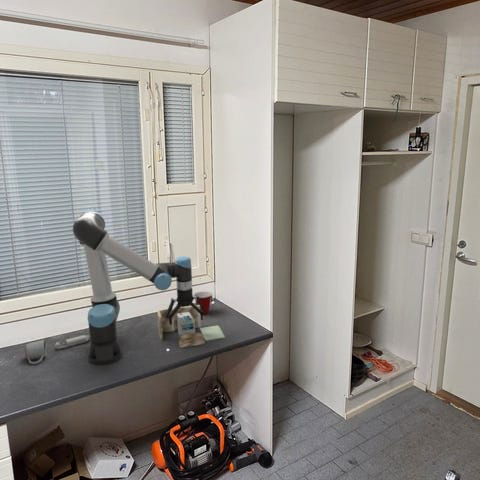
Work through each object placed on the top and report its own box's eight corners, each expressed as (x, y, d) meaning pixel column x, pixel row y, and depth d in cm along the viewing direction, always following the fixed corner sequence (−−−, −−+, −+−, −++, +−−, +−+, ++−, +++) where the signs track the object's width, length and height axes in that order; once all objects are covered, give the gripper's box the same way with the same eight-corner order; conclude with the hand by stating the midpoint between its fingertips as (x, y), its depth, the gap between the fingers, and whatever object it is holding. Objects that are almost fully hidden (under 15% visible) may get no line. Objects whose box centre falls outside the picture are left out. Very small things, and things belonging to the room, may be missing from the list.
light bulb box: (195, 339, 207) (195, 319, 205) (182, 342, 205) (181, 321, 202) (190, 330, 217) (189, 311, 214) (177, 332, 215) (176, 313, 212)
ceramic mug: (27, 355, 193) (24, 340, 191) (46, 351, 196) (44, 337, 194) (26, 367, 184) (23, 351, 182) (46, 363, 187) (44, 347, 185)
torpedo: (56, 352, 196) (55, 339, 195) (54, 348, 200) (53, 335, 199) (95, 341, 206) (94, 329, 205) (92, 337, 210) (91, 325, 209)
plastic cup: (208, 308, 245) (208, 288, 242) (215, 315, 236) (215, 295, 233) (191, 311, 241) (190, 291, 238) (197, 318, 231) (196, 298, 228)
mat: (205, 340, 206) (205, 339, 206) (199, 328, 219) (199, 327, 219) (225, 337, 209) (225, 337, 208) (218, 326, 222) (218, 325, 221)
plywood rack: (160, 340, 207) (159, 317, 204) (158, 331, 216) (157, 310, 213) (204, 333, 213) (203, 312, 210) (200, 326, 222) (199, 304, 219)
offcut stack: (180, 347, 199) (179, 338, 198) (178, 343, 203) (178, 334, 202) (204, 344, 203) (204, 335, 201) (202, 340, 207) (202, 331, 206)
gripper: (159, 293, 198) (162, 335, 203) (211, 287, 205) (212, 327, 210) (158, 288, 205) (160, 328, 210) (207, 282, 212) (209, 321, 217)
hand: (186, 328), depth 210 cm, fingers open, 13 cm apart
